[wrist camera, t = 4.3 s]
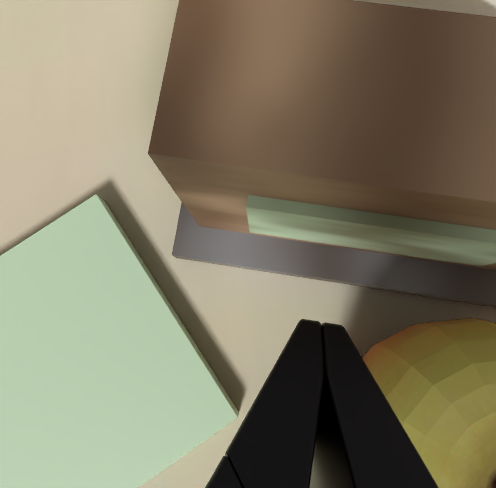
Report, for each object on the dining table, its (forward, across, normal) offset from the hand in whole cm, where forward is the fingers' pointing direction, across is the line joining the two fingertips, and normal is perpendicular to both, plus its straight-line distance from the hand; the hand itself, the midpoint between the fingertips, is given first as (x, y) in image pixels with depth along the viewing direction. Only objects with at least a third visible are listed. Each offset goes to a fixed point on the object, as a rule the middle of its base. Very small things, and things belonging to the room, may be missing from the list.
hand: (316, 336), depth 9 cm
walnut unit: (+13, -2, +4) cm, 13 cm away
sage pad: (+5, +10, +11) cm, 16 cm away
